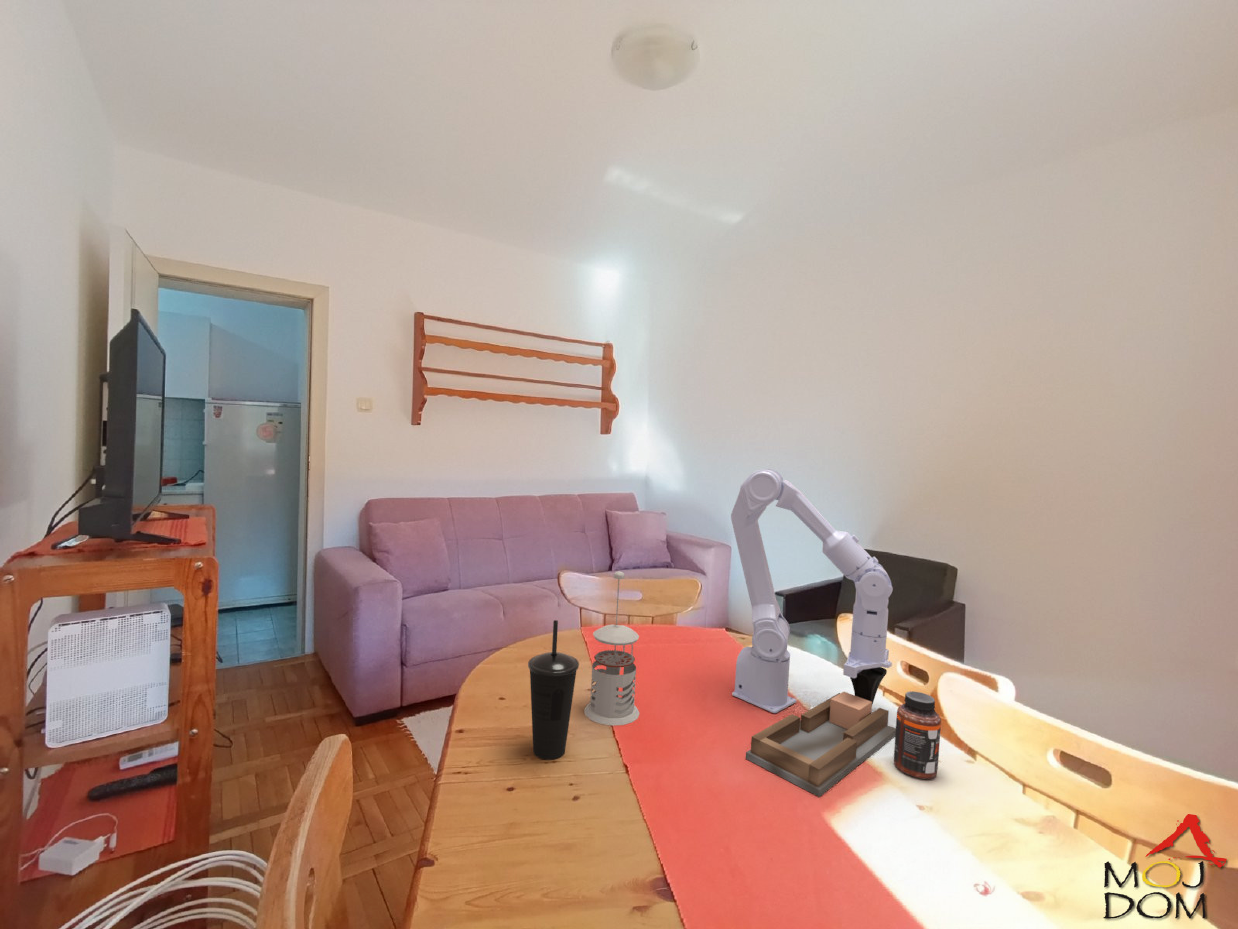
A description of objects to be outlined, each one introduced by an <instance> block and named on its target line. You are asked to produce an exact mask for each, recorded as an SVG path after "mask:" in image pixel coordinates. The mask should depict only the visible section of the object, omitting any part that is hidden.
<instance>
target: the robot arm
mask: <svg viewBox="0 0 1238 929" xmlns="http://www.w3.org/2000/svg"><path fill="white" fill-rule="evenodd" d="M774 501H776V502H777V503H776V504H775V507H777V508H780V509H785V510H788V511H790V512H792V513H793V514H794V515H795V516H796V517H797V518H798V519H799V520H800V521H801V522H802V523H803V524H804V525H805V526H806V527H807V528H808V529H809V530H810V531H811V532H812V533H813V534H814V535H815V536H816V537H817V538H818V539H819V540H820V541H821V542H822V553H823V555H825V557H827V559H829V561H830V562H831V563H832V564H833V565H834V566H835V567H836V569H838V570H839V571H840V573H842V575H843V576H844V577H846V579H848V580H851V581H853V583H854V586H855V599H854V600H855V601H854V603H853V606H852V607H853V608H852V620H851V623H852V625H851V637H850V648H849V649H850V650H849V652H848V655H847V659H846V662H845V663H843V670H842V671H843V673H842V675H843V676H846V677H849V678H850V681H851V683H852V688H853V692H854V695H855V696H858V697H860V698H863V699H866V700H868V701H871V702H872V705H873V703H874V701H875V698H876V695H877V691H878V688H879V687H880V685H881V682H882V681H883V679H884V678H885V676H886V675H887V672H888V670H887V669H889V668H891V667H892V666H893V662H892V661H890V660H889V656H890V655H889V654H890V650H889V648H886V647H887V635H888V623H889V620H888V619H889V608H888V606H889V598H890V596H891V595H892V592H893V591H894V590H893V589H894V587H893V586H892V580H891V578H890V576H889V574H888V572H887V571H886V570H885V568H884V566H883V565H881V564H880V563H879V560H878V558H876V556H871V555H870V554H869V553H868V551H866V550H865V549H864V548H863V547H862V546H861V545H860V544H859V542H860V539H859V538H858V537H857V535H856V534H852V535H851V534H850V533H849V532H847V531H845V530H843V531H842V530H841V531H840V530H836V529H835V528H834V527H833V525H831V524H830V522H829V521H828V520H827V519H826V518H825V517H824V516H823V515H822V514H821V513H820V512H819V510H818V509H817V508H816V507H815V506H814V504H812V502H810V500H809V499H808V498H807V497H806V496H805V495H804V494H803V493H802V492H801V490H800V489H798V488H797V487H795V485H793V483H791V482H790V481H788V480H787V479H784V478H783V476H782V474H780V473H779V472H778V471H776V470H774V469H772V468H764V469H758V470H755V471H753V472H752V473H751V474H750V475H749V476H748V477H747V478H746V479H744V481H743V482H742V484H741V485H740V488H739V491H738V495H737V498H736V501H735V504H734V505H733V508H732V510H731V514H730V520H731V524H732V528H733V529H732V530H733V532H734V537H735V541H736V545H737V549H738V554H739V559H740V562H741V566H742V571H743V575H744V579H745V584H746V588H747V592H748V598H749V602H750V604H751V605H750V606H751V621H752V622H751V623H752V626H753V634H752V637H751V644H752V646H745V647H744V648H742V649H741V650H740V652H738V653H739V654H737V655H738V656H737V658H736V664H735V681H734V691H733V692H732V693H731V695H732V696H733V697H736V698H738V699H741V701H745V702H747V703H749V704H752V705H754V706H755V707H759V708H761V709H762V710H763V709H764V710H766V711H768V712H771V713H773V714H777V713H779V712H781V711H782V710H784V709H786V708H788V707H789V706H791V705H793V704H795V703H797V698H794V697H792V696H789V695H788V694H789V691H788V690H789V679H790V677H789V676H790V664H791V661H790V660H791V654H790V652H789V650H788V640H789V638H790V634H791V628H790V625H789V622H788V621H787V620H786V618H785V617H784V616H783V614H782V611H781V607H780V605H779V603H778V601H777V597H776V592H775V588H774V585H773V580H772V575H771V572H770V568H769V564H768V559H767V555H766V554H767V553H766V550H765V546H764V542H763V538H762V533H761V529H760V525H759V519H760V517H762V515H763V513H764V511H766V509H767V506H769V505H770V504H772V503H773V502H774Z"/></svg>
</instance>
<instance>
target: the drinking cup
mask: <svg viewBox="0 0 1238 929" xmlns="http://www.w3.org/2000/svg"><path fill="white" fill-rule="evenodd" d="M552 626H553V627H552V645H551V651H550V652H545V653H541V654H538V655H535V656H533V657H532V658H530V659H529V661H528V663H527V666H528V669H529V678H530V679H529V683H530V702H531V703H530V704H531V725H532V726H531V727H532V730H531V731H532V752H533V755H534V756H535V757H536V758H538V759H541V760H545V761H546V760H548V761H551V760H556V759H559V758H562V757H563V756H564V755H565V753H566V749H567V748H566V746H567V739H568V734H569V726H570V719H571V711H572V704H573V698H574V689H575V684H576V677H577V676H576V675H577V671H578V670H579V666H580V662H579V660H578V659H577V658H575V657H574V656H572V655H569V654H566V653H563V652H560V651H559V652H558V651H557V648H558V646H557V645H558V629H559V627H558V626H559V620H557V619H556V620H555V619H554V620H553V624H552Z"/></svg>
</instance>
